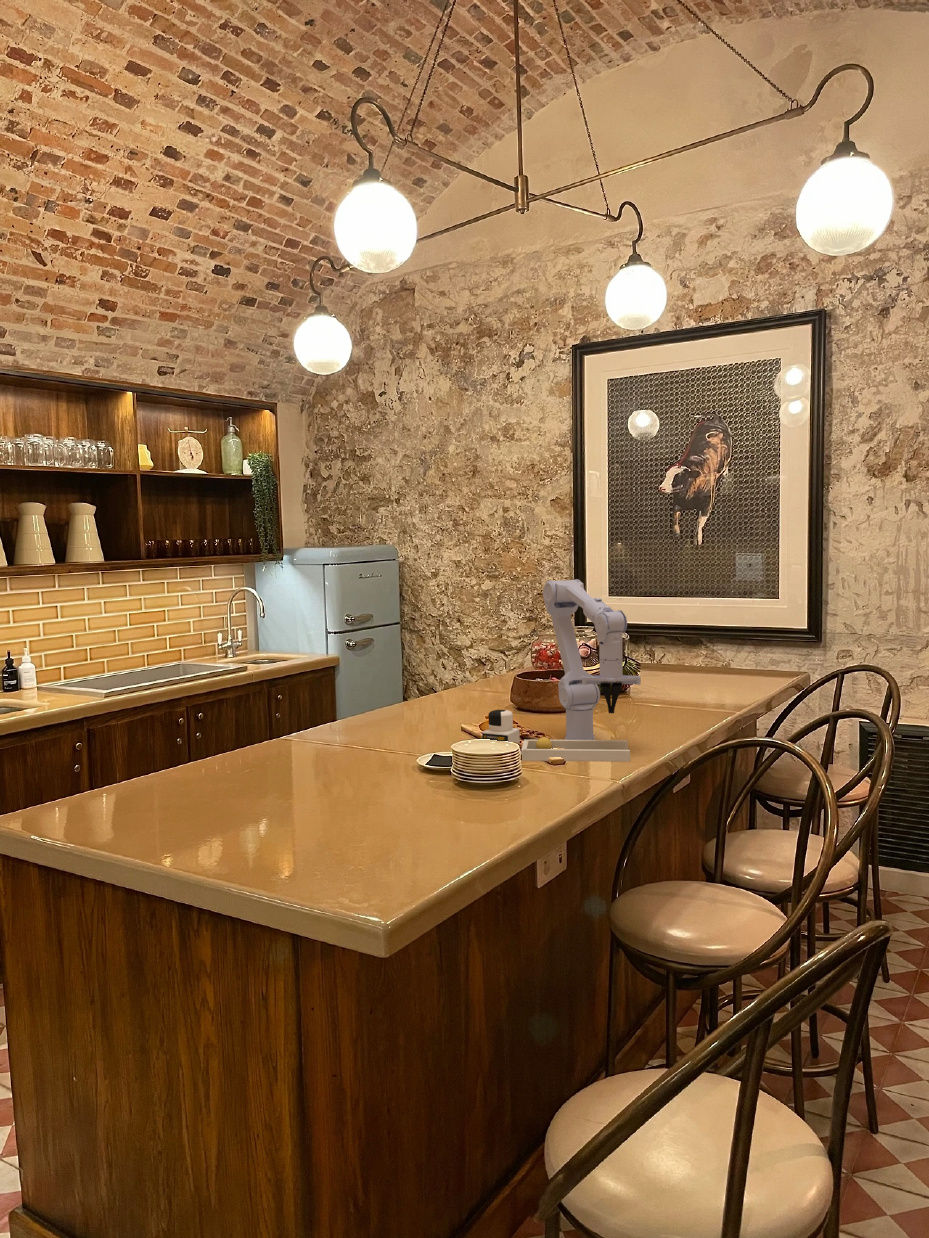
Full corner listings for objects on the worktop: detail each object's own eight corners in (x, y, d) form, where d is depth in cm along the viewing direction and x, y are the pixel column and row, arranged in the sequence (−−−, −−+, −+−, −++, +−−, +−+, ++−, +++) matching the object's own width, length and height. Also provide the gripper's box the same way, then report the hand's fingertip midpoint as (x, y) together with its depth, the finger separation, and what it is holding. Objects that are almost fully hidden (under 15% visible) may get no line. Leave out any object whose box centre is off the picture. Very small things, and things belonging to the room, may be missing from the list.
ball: (552, 742, 243) (538, 734, 242) (556, 742, 239) (543, 733, 238) (544, 756, 242) (531, 748, 241) (549, 755, 238) (535, 747, 237)
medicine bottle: (482, 759, 236) (481, 712, 235) (494, 753, 242) (493, 707, 241) (508, 762, 233) (507, 714, 232) (520, 756, 239) (519, 709, 238)
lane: (524, 750, 245) (524, 739, 244) (627, 751, 241) (627, 740, 241) (521, 762, 233) (521, 750, 233) (630, 763, 230) (630, 750, 229)
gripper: (581, 661, 235) (582, 715, 236) (641, 661, 233) (641, 715, 234) (581, 657, 242) (582, 710, 243) (639, 657, 240) (639, 710, 241)
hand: (611, 712), depth 239 cm, fingers closed
